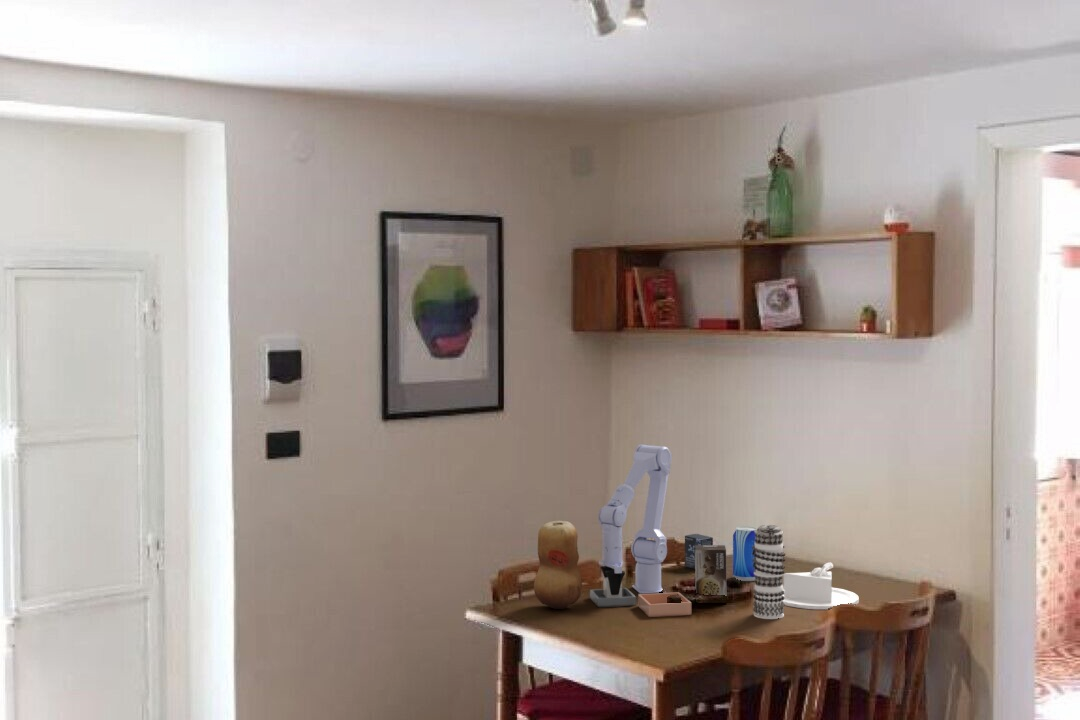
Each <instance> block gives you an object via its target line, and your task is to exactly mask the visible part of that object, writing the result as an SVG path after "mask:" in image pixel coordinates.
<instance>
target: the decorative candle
mask: <svg viewBox="0 0 1080 720" xmlns="http://www.w3.org/2000/svg"><path fill="white" fill-rule="evenodd" d="M754 532H755V545H753V546H752V549H753V551H752V554H753V555H754V556H755V557H754V558H753V562H754V563H753V567H754V569H755V570H754V574H755V581H754V589H753V591H752V593H753V594H754V595H753V596H752V597H753V599H754V601H753V603H752V606H753V609H752V611H753V616H754V617H756V618H759V619H763V620H779V619H782V618H784V617H785V614H784V612H785V608H784V607H785V606H786V605H785V604H784V603H783V601H782V600H784V596H782V595H783V594H784V591H783V588H784V583H783V577H784V573H785V571H784V569H785V568H786V567H785V565H783V563H784V562H786V559H785V558H784V557H785V556H786V553H785V552H784V551H783V549H784V548H785V545H784V541H783V534H784V531H782V529H781V527H780V526H778V525H773V524H764V525H763V524H762V525H759V526H758V528H757V530H756V531H754ZM755 552H756V553H755ZM778 618H779V619H778Z"/></svg>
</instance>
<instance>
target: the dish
mask: <svg viewBox="0 0 1080 720" xmlns="http://www.w3.org/2000/svg"><path fill="white" fill-rule="evenodd" d="M833 568H834V564H833V562H831V561H829V562H826V563H824V564H823V566H822V567H815V568H813V570H810V571H809V572H786V573H784V575H783V591H784V594H783V595H782V596H784V600H782V601H783V603H784V604H785V605H784V606H787V607H792V608H798V609H806V610H828V608H830V607H833V606H837V605H840V604H848V603H849V604H850V603H852V604H856V605H857V604H859V602H860V598H859V595H858V594H857V593H855V592H853V591H850V590H847V589H843V588H838V587H833V586H832V584H833V583H832V580H833V578H832V574H833V572H832V571H829V570H831V569H833Z"/></svg>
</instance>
